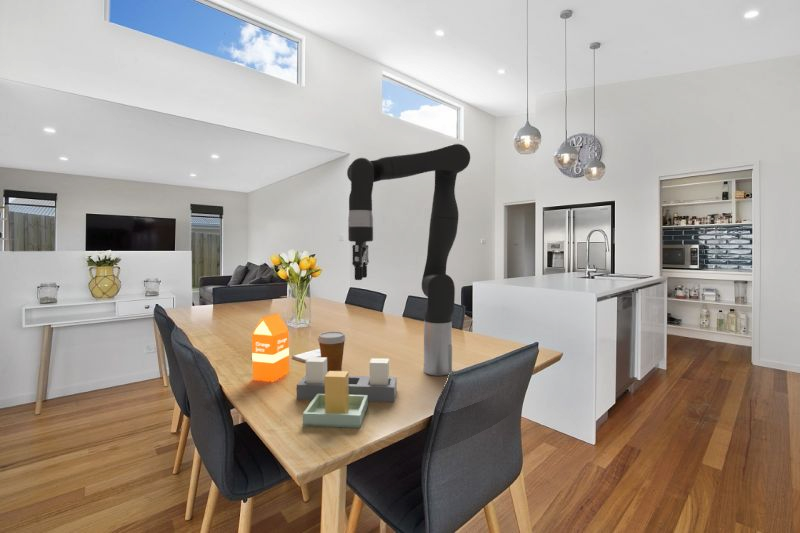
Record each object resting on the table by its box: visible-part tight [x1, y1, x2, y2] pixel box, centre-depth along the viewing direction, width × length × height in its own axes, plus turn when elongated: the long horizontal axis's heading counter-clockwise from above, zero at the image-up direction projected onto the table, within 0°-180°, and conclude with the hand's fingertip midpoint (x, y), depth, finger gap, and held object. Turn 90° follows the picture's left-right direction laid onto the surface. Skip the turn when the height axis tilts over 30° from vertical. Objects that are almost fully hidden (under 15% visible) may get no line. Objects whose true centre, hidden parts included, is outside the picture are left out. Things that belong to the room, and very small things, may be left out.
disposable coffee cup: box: [317, 331, 347, 373], centre depth 126 cm, size 10×10×12 cm
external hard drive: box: [291, 348, 321, 364], centre depth 141 cm, size 2×8×12 cm
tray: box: [302, 394, 369, 429], centre depth 92 cm, size 14×12×3 cm
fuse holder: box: [296, 374, 398, 403], centre depth 104 cm, size 27×8×4 cm, turn 86°
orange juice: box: [251, 312, 290, 383], centre depth 119 cm, size 8×9×20 cm
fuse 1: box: [305, 357, 328, 384], centre depth 105 cm, size 5×4×10 cm
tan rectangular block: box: [325, 370, 350, 413], centre depth 91 cm, size 5×4×10 cm
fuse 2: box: [369, 357, 390, 385], centre depth 104 cm, size 5×4×10 cm
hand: (361, 278), depth 114 cm, fingers open, 8 cm apart
